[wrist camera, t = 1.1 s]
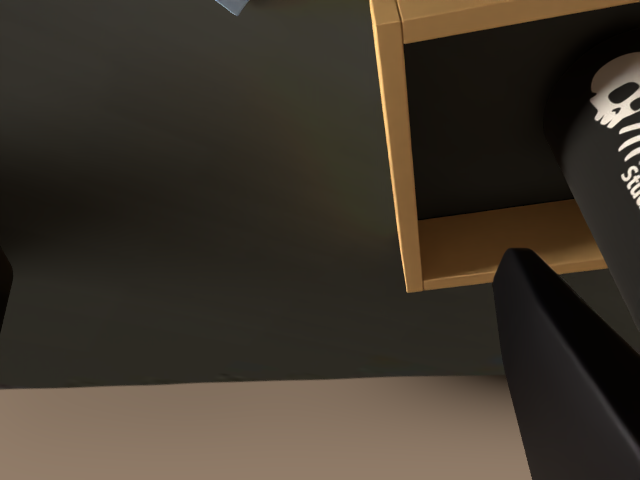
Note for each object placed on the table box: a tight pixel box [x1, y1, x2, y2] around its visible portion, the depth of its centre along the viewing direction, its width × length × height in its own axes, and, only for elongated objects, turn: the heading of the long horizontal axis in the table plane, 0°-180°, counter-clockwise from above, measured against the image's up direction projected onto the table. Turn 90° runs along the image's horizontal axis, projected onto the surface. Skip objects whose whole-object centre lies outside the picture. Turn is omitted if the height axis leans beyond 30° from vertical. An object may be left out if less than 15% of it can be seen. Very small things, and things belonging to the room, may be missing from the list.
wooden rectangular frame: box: [369, 0, 640, 293], centre depth 22 cm, size 17×14×4 cm
